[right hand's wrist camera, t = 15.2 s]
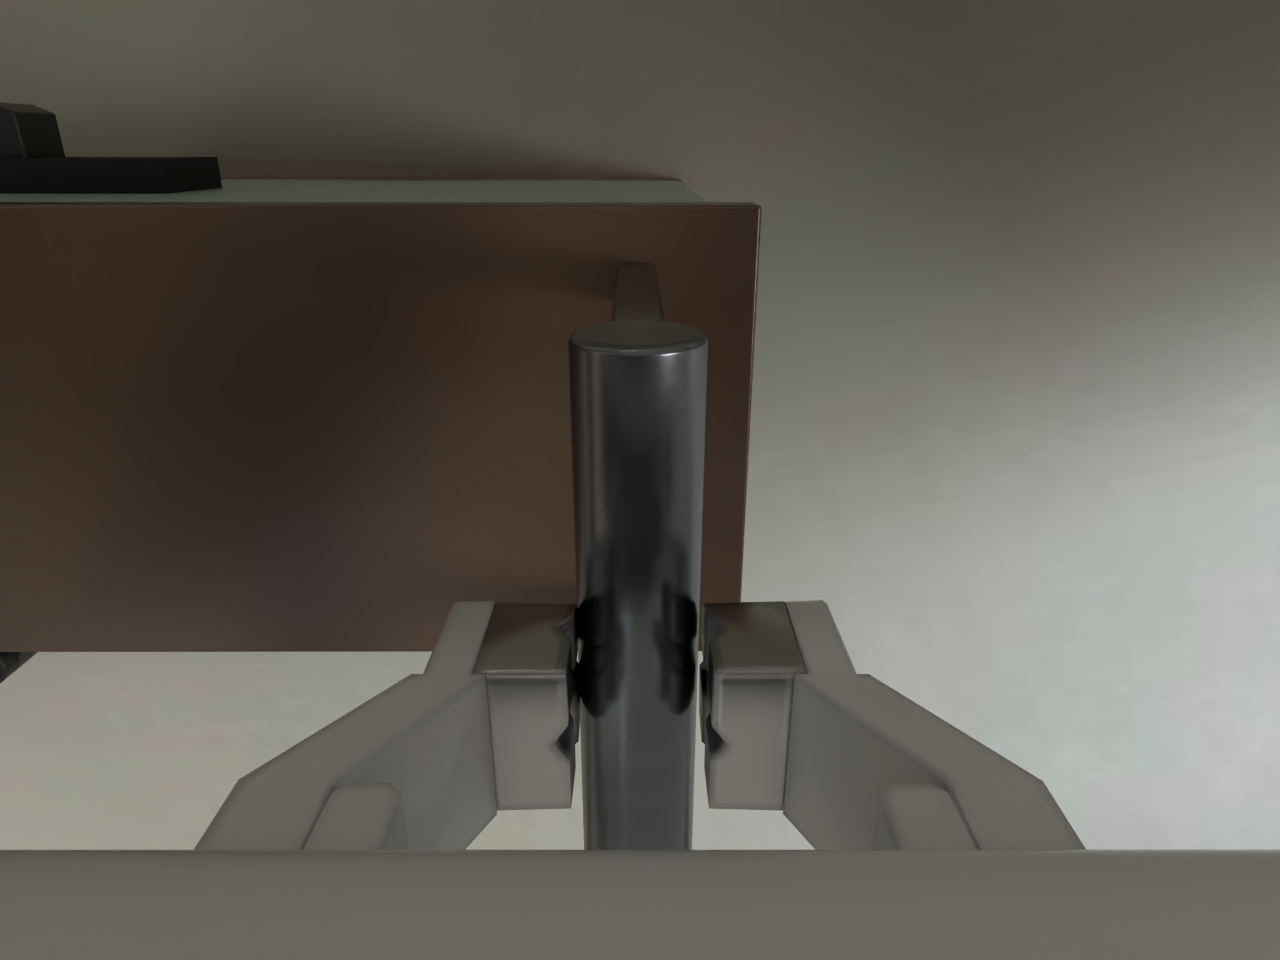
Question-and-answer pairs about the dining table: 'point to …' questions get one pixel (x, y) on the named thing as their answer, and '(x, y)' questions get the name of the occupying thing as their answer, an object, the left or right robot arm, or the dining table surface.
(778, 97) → the dining table surface
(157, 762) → the dining table surface
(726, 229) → the lid
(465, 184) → the chest
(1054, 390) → the dining table surface
